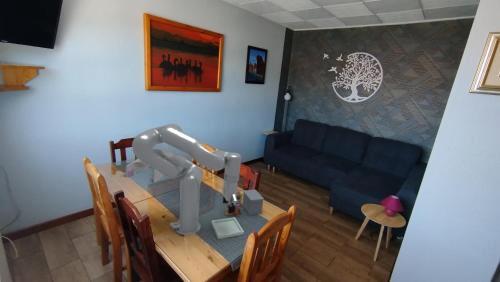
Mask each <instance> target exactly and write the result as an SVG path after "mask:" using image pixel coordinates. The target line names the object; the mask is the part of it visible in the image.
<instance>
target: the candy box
mask: <svg viewBox="0 0 500 282" xmlns="http://www.w3.org/2000/svg"><path fill="white" fill-rule="evenodd" d="M243 191H244V190H240V189H237V198H236V200H237V202H236V206H235V212H234V213H229V212H228V211H229V205H230V203H225V204H226V205H225V212H224V213H225V215H226V216H233V217H241V211H242V203H243V194H244V192H243ZM231 200H232V199H231ZM232 203H233V201H231V204H232Z"/></svg>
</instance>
